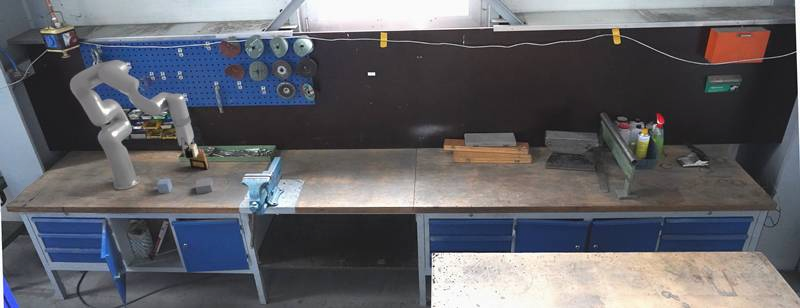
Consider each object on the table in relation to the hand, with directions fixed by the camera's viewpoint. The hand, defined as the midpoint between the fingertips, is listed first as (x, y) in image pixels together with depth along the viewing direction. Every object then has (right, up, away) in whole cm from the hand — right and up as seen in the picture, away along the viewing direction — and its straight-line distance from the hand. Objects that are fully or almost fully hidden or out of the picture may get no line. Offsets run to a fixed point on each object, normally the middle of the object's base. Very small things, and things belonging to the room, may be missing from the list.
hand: (191, 154), depth 262 cm
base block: (+4, -17, +7) cm, 19 cm away
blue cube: (-15, -18, +8) cm, 25 cm away
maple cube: (0, -1, 0) cm, 1 cm away
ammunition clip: (-5, -7, +26) cm, 27 cm away
